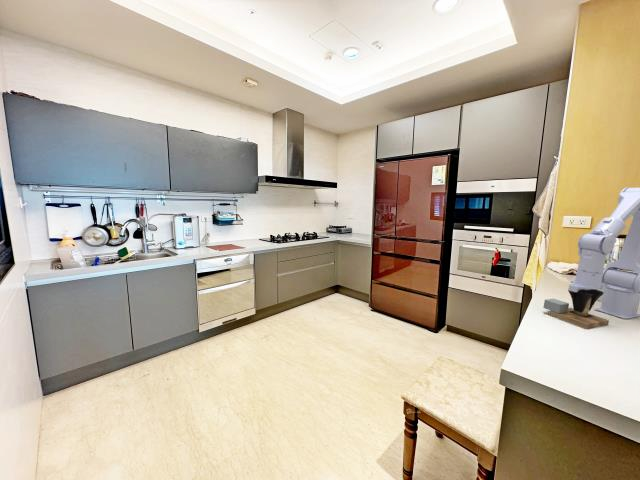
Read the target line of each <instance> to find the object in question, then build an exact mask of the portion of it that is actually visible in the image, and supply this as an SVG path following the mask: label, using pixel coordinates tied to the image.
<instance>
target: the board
mask: <svg viewBox="0 0 640 480" xmlns="http://www.w3.org/2000/svg"><path fill="white" fill-rule="evenodd" d="M574 311H575V310H574V309H573V307H568V312H564V313H556V312H554V311H551V310H548V316H550V317H552V318H556V319H558V320H561V321H563V322H566V323H569V324H571V325H574V326H576V327H579V328H582V329H584V330H591V329H595V328H600V327H605V326H608V325H609V321H610V320H609V319H606V318H603V317H599V316H597V315H593V314H591V313H588V316H581V315H578V314H575V313H574Z"/></svg>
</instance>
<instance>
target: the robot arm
mask: <svg viewBox="0 0 640 480" xmlns="http://www.w3.org/2000/svg"><path fill="white" fill-rule="evenodd" d="M617 199H618V204H617V206H616V208H615V209H614V210H613V211H612V213H611V214H610V216H608V217H607V216H606V217H603V218H602V219H601V220H600V221H599V222H598V223H597V225H595V227H593V229H592V230H591V231H590V232H589V233H586V234H582V235H581V236H580V238H579V239H578V241H577V248H578V256H579V260H578V265H577V269H576V274H575V280H574V279H572V280H570V283H571V284H568V287H567V288H568V290H567V292H568V293H569V295H570V298H571V302H572V308H573V309H574V310H575V311H578V312H581V313H582V312H583V311H584V309H585V306H586V304H587V302H588V300H589V299H590V298H591V303H590V308H589V312H591V310H592V308H593V307H594V305H595V303H596V302H597V301H598V300H597V299H598V298H599V297H600V296H602V295H603V293H604V297H603V301H602V302H601V305H600V307H594V310H595V311H597V312H602V313H604V314H608V315H611V316H615V317H618V318H621V319H624V320H626V319H628V320H629V319H633V318H638V317H640V314H638V310H639V309H638V308H639V305H640V187H624V188H623V189H621V191H620V192H619V194H618V197H617ZM630 217H632V219H631V222H630V226H629V227H628V228H629V229H628V231H627V234H626V236H625V240H624V241H623V242H624V243H623V245H622V248H621V250H620V253H619V256H618V259H617V260H614V261H611V262H609V263H606V259H607V255H608V254H610V253H611V252H612V251H613V250H614V247H615V244H616V241H617V238H618V237H619V235H621V234H622V232H623V231H624V230H625V229H626V223H625V222H626V221H627V220H628V219H629V218H630ZM601 282H602V283H601ZM604 286H605V287H606V288H605V292H602V291H598V289H603V288H604Z"/></svg>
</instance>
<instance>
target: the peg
mask: <svg viewBox="0 0 640 480" xmlns="http://www.w3.org/2000/svg"><path fill="white" fill-rule="evenodd" d="M590 303H591V298H590V299H589V300H588V302H587V304H586V306H585V309H584V311H583V312H582V313H581V312H578V311H574V313H575V314H578V315H581V316H588V314H589V313H590V311H589V308H590Z"/></svg>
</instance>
